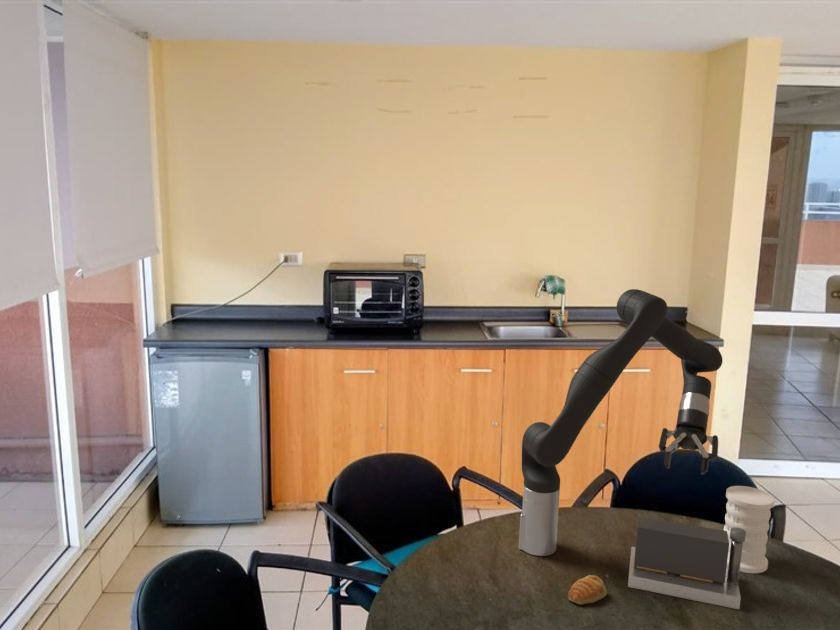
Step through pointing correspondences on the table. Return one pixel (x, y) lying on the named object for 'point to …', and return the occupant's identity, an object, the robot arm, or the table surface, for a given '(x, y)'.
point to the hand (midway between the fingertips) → (684, 470)
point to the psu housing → (691, 582)
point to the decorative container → (749, 524)
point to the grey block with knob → (684, 548)
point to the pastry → (587, 590)
